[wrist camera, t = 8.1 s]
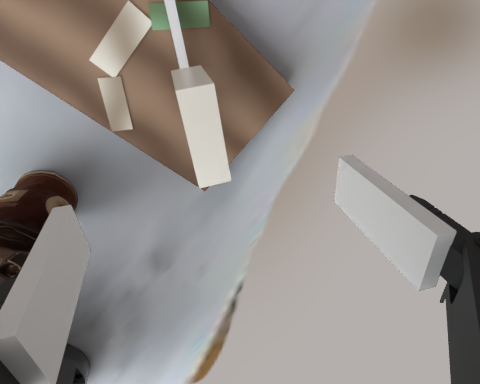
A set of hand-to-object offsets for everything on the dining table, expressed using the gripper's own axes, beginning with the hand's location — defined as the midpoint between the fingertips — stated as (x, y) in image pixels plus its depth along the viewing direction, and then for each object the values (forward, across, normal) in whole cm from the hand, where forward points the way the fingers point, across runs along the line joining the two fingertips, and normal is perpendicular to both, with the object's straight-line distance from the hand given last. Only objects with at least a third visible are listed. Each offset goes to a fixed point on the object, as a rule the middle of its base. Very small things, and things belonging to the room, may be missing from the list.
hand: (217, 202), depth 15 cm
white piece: (+18, 0, +4) cm, 18 cm away
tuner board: (+21, -4, +5) cm, 22 cm away
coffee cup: (+21, -17, -9) cm, 28 cm away
